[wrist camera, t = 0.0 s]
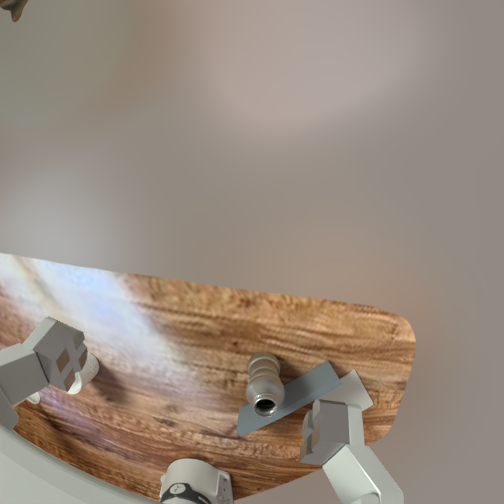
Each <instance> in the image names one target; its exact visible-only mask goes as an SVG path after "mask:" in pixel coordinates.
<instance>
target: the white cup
mask: <svg viewBox="0 0 504 504" xmlns="http://www.w3.org/2000/svg"><path fill="white" fill-rule="evenodd" d="M98 371H99V363H98V361H97V359H96V357H95V356H94V355H93V354H92V353H90V352H88V353H87V360H86V363H85V365H84V367H83V369H82V370H81V371H79V372H77V373H75V377H76V380H75V381H74V383H73V385H72V386H71V388H70V389H69V391H68V394H77V393H78V392H79V391H80V390H81V389H83V388H84V387H85V386H86V385H87V384H88V383H89V382H90V381H91V380H92V379H93V377H94V376H95V375H97V374H98ZM64 392H65V391H64ZM66 393H67V392H66Z"/></svg>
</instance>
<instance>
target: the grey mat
mask: <svg viewBox="0 0 504 504" xmlns="http://www.w3.org/2000/svg"><path fill="white" fill-rule="evenodd" d="M340 381H341V383H342V385H340V386H338V387H337V388H335V389H333V390H332V391H330V392H328V393H326V394H325V395H323V396H321V397H319V398H318V399H322V400H329V401H337V402H344V403H348V404H358V405H360V406H361V410H362V411H364V410H366V409H367V408H369V407H371V406H372V405H374V404H373V402H372V400H371V398H370V396H369V395H368V393H367V391H366V389H365V387H364V386H363V384H362V382H361V380H360V378H359V377H358V375H357V373H356V371H355V370H353V371H351V372H350V373H348V374H347V375H345V376H343V377H342V378H340ZM316 400H317V399H316ZM316 400H314V401H316Z"/></svg>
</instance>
